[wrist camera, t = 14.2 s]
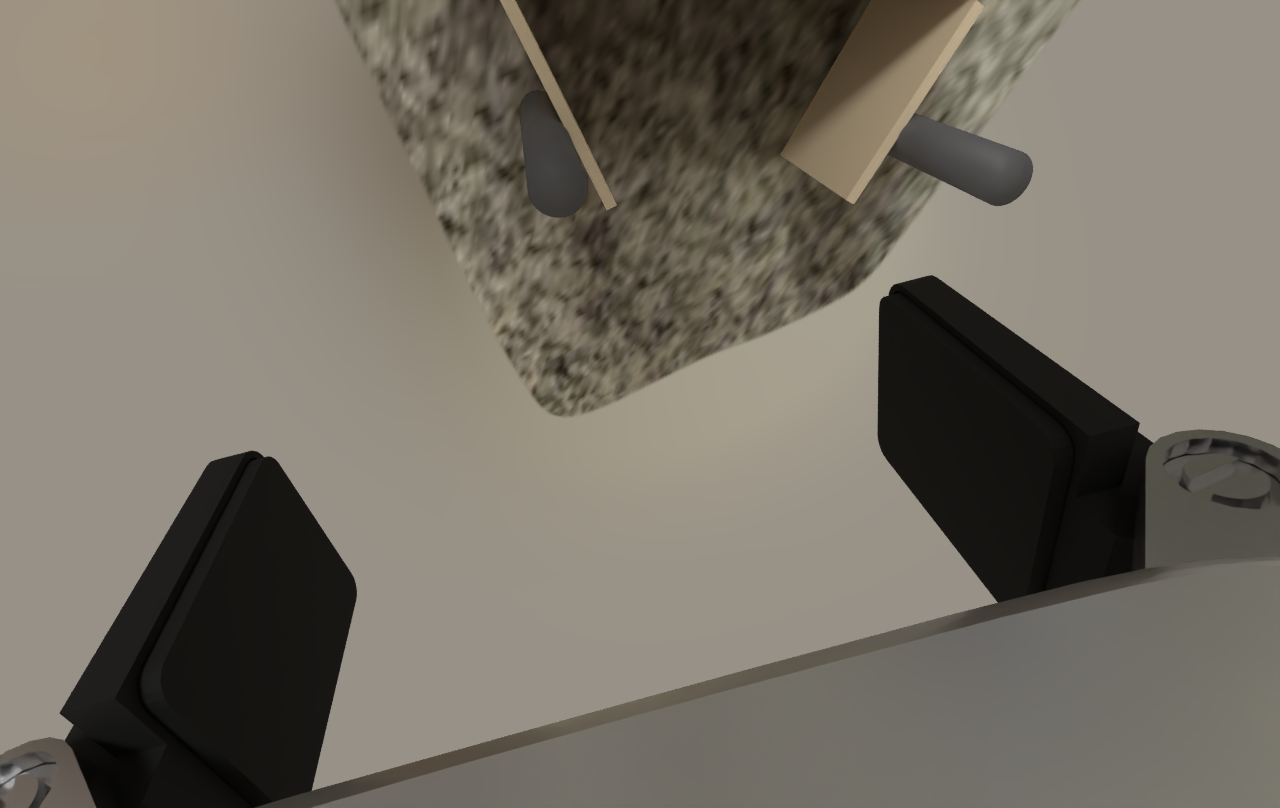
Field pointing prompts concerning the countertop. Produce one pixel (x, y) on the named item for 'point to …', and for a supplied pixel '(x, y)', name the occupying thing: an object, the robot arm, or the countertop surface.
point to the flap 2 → (900, 108)
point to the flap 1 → (553, 138)
